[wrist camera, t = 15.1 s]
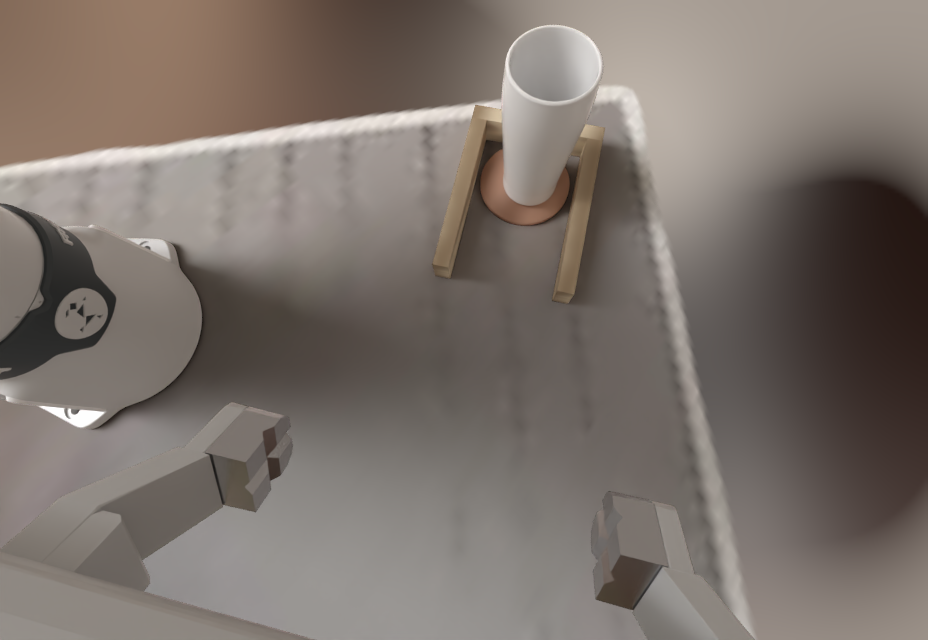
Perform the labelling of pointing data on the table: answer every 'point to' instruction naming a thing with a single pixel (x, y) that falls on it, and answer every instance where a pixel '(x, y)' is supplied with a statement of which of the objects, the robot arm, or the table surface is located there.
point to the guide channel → (501, 205)
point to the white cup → (545, 107)
